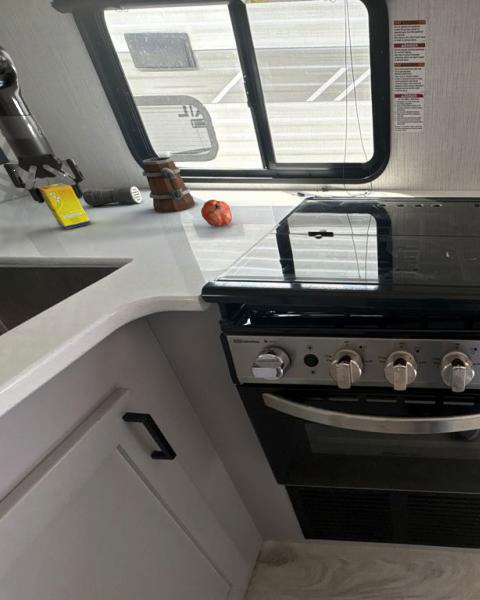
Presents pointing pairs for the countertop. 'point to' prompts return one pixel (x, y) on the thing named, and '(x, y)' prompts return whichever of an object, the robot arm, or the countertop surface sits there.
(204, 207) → the pomegranate
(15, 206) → the countertop surface
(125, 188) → the flashlight
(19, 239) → the countertop surface
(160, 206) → the mug
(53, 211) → the supplement box
